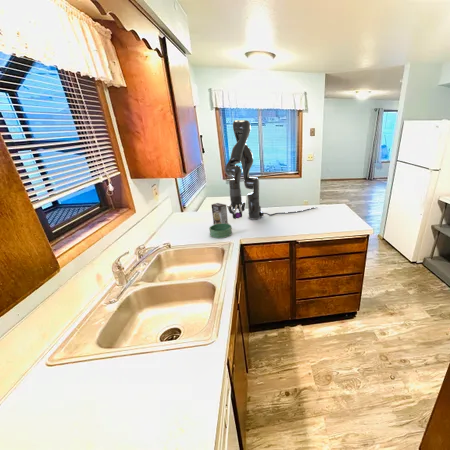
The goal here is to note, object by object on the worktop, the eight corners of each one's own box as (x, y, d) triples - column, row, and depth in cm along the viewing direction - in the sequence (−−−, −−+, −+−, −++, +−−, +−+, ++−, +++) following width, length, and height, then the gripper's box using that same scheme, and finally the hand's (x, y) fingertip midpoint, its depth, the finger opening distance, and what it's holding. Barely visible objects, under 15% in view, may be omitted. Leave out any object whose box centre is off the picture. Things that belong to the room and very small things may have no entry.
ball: (238, 216, 173) (238, 211, 172) (242, 218, 171) (241, 212, 169) (233, 218, 170) (232, 212, 169) (236, 219, 168) (236, 213, 166)
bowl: (224, 229, 173) (224, 222, 171) (236, 234, 164) (235, 226, 162) (206, 234, 163) (205, 227, 161) (217, 240, 154) (216, 232, 152)
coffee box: (213, 225, 180) (210, 204, 174) (219, 222, 186) (217, 202, 180) (222, 227, 176) (220, 206, 171) (228, 224, 182) (226, 204, 176)
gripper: (229, 197, 157) (232, 221, 163) (247, 193, 167) (249, 216, 173) (223, 195, 162) (226, 219, 168) (241, 191, 171) (242, 214, 178)
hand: (237, 217), depth 170 cm, fingers closed on ball, 4 cm apart
